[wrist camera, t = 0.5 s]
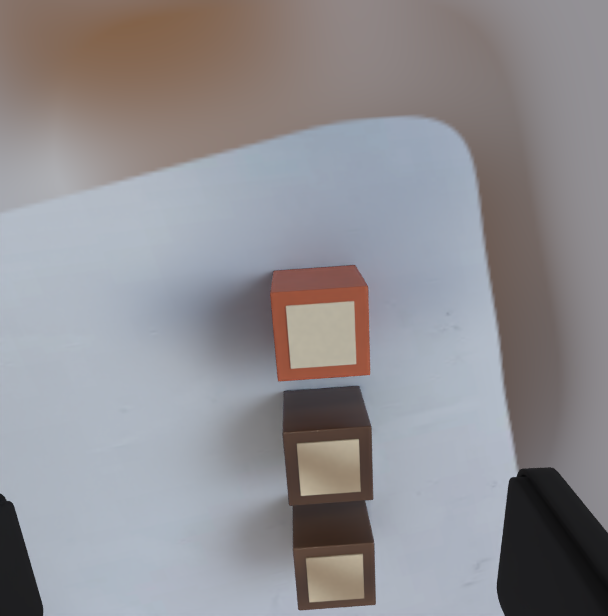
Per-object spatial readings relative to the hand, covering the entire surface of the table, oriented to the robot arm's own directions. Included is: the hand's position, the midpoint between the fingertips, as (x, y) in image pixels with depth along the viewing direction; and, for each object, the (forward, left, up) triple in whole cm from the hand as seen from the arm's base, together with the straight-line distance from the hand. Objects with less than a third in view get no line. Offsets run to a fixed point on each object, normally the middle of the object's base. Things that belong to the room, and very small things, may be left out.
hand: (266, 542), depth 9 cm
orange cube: (0, +2, -15) cm, 15 cm away
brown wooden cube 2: (+7, +2, -15) cm, 17 cm away
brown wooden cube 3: (+13, +2, -15) cm, 20 cm away
